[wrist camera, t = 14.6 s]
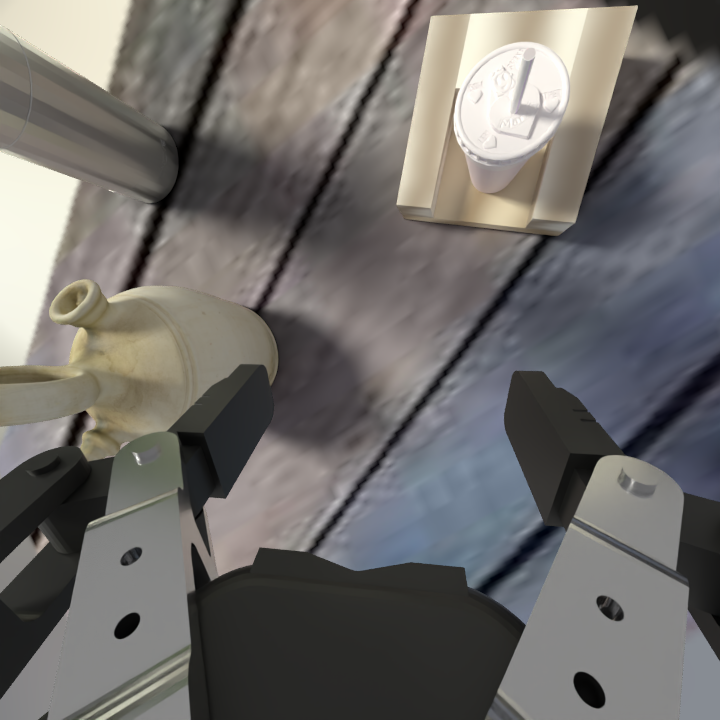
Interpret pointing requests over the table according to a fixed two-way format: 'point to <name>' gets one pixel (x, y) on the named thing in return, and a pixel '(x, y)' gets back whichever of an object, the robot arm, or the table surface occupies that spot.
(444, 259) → the table surface
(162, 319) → the jug
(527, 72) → the white cup with straw
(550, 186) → the notched board
